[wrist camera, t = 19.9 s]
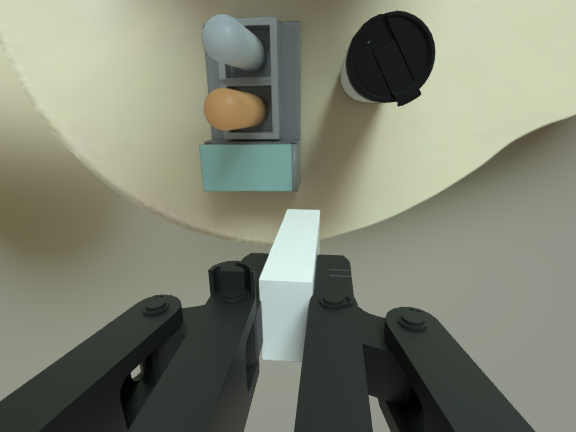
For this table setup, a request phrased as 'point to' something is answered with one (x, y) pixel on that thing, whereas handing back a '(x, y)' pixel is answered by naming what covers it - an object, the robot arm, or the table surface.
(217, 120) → the orange capsule
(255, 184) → the lid
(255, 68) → the ball
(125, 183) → the table surface
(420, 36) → the travel mug
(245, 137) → the housing
